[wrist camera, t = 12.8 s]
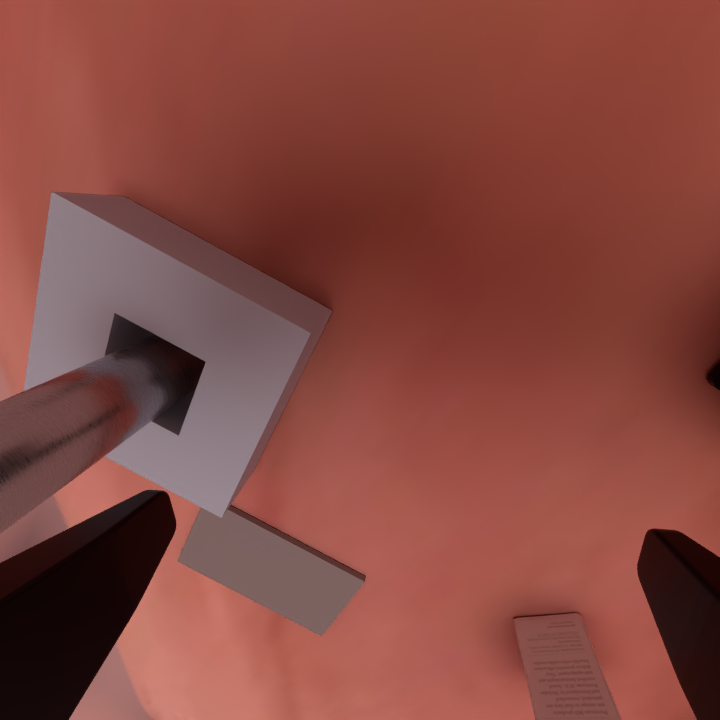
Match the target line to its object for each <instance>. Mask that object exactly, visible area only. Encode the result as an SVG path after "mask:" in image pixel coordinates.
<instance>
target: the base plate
mask: <svg viewBox="0 0 720 720" xmlns="http://www.w3.org/2000/svg"><path fill="white" fill-rule="evenodd" d="M178 562H180V563H182V564H184V565H186V566H188V567H190V568H191V569H193V570H195V571H197V572H199V573H201V574H203V575H205V576H207V577H209V578H211V579H213V580H215V581H216V582H218V583H220V584H222V585H224V586H226V587H228V588H230V589H232V590H234V591H236V592H238V593H240V594H241V595H243V596H245V597H247V598H249V599H251V600H253V601H255V602H257V603H259V604H261V605H263V606H265V607H266V608H268V609H270V610H272V611H274V612H276V613H278V614H280V615H282V616H284V617H286V618H288V619H289V620H291V621H293V622H295V623H297V624H299V625H301V626H303V627H305V628H307V629H309V630H311V631H313V632H314V633H316V634H318V635H320V636H322V635H323V634H324V633H325V631H326V630H327V629H328V627H329V626H330V625H331V624H332V622H333V621H334V620H335V619H336V617H337V616H338V615H339V614H340V612H341V611H342V610H343V608H344V607H345V606H346V605H347V603H348V602H349V601H350V600H351V598H352V597H353V596H354V595H355V593H356V592H357V591H358V589H359V588H360V587H361V586H362V584H363V583H364V582H365V576H364V575H362V574H360V573H358V572H356V571H354V570H352V569H350V568H349V567H347V566H345V565H343V564H341V563H339V562H337V561H335V560H333V559H331V558H330V557H328V556H326V555H324V554H322V553H320V552H318V551H316V550H314V549H313V548H311V547H309V546H307V545H305V544H303V543H301V542H299V541H297V540H295V539H294V538H292V537H290V536H288V535H286V534H284V533H282V532H280V531H278V530H276V529H275V528H273V527H271V526H269V525H267V524H265V523H263V522H261V521H259V520H258V519H256V518H254V517H252V516H250V515H248V514H246V513H244V512H242V511H240V510H239V509H237V508H235V507H233V506H231V505H230V506H229V508H228V509H227V511H226V512H225V514H224V515H223V517H222V518H220V517H219V516H217V515H215V514H213V513H211V512H209V511H207V510H205V509H203V508H201V509H200V512H199V514H198V516H197V518H196V521H195V523H194V525H193V527H192V530H191V532H190V534H189V536H188V539H187V541H186V543H185V545H184V548H183V550H182V552H181V554H180V557H179V559H178Z"/></svg>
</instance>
